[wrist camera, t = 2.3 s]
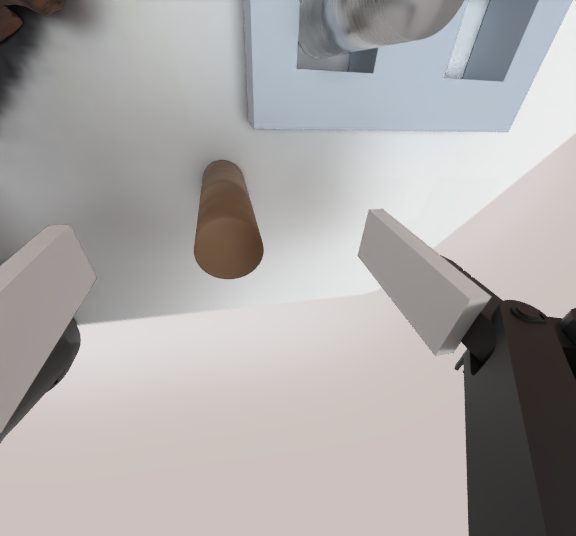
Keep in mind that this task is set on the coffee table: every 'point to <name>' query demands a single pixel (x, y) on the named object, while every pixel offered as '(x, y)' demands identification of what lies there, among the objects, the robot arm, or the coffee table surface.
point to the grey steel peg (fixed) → (369, 23)
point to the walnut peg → (226, 224)
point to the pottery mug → (7, 22)
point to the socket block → (398, 73)
